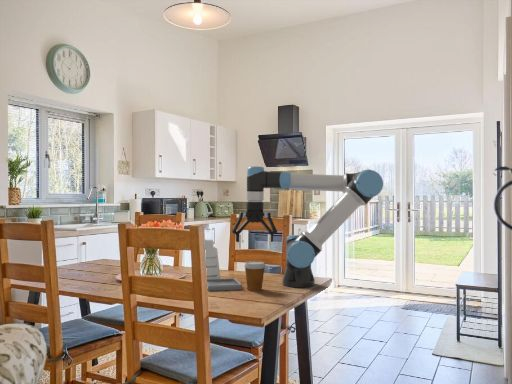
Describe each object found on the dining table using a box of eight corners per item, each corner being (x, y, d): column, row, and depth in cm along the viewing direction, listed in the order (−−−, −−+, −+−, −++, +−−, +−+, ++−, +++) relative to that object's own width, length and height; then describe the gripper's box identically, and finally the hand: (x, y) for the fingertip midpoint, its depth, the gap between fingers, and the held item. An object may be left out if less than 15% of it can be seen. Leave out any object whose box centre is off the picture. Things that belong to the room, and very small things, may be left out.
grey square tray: (235, 283, 209) (235, 278, 209) (241, 289, 195) (241, 284, 195) (203, 284, 206) (203, 279, 206) (208, 291, 191) (208, 285, 191)
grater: (198, 282, 210) (199, 240, 211) (196, 278, 220) (196, 238, 221) (220, 281, 213) (221, 240, 213) (216, 277, 223) (217, 238, 223)
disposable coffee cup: (261, 292, 189) (261, 264, 189) (240, 291, 192) (240, 263, 192) (268, 288, 198) (268, 261, 198) (248, 286, 201) (248, 260, 201)
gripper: (279, 201, 202) (278, 247, 202) (225, 201, 196) (225, 248, 196) (284, 201, 194) (283, 249, 194) (228, 201, 188) (228, 250, 188)
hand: (254, 249), depth 195 cm, fingers open, 13 cm apart
